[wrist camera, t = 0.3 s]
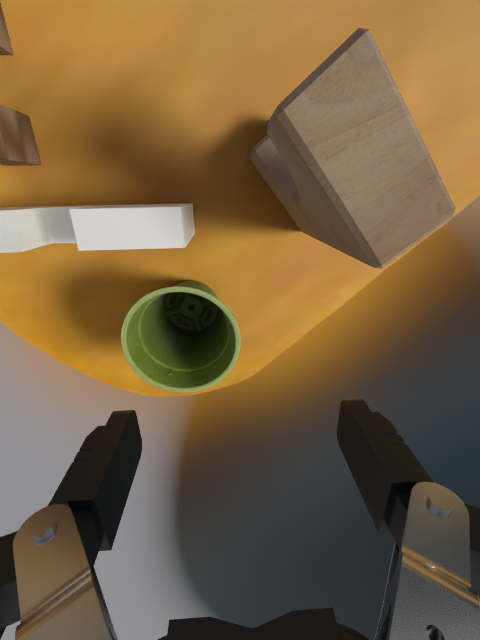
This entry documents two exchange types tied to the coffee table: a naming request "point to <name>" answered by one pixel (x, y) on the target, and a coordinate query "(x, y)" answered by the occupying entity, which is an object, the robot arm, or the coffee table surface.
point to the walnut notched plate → (15, 122)
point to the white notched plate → (97, 226)
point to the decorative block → (353, 159)
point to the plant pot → (181, 338)
